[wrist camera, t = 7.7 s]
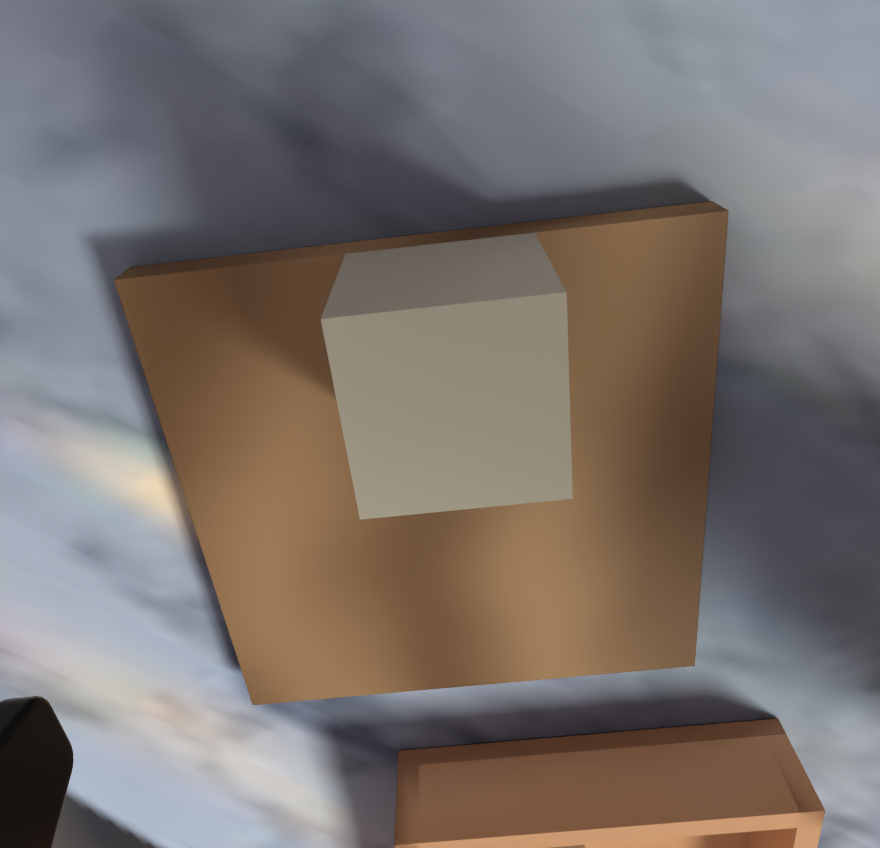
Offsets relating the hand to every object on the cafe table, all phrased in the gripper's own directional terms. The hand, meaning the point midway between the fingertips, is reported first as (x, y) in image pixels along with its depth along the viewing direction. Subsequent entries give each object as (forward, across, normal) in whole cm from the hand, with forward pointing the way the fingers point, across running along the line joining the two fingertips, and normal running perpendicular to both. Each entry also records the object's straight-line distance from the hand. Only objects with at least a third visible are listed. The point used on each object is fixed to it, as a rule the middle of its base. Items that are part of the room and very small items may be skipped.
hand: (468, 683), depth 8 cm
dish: (+11, -3, +19) cm, 22 cm away
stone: (+10, 0, 0) cm, 10 cm away
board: (+11, 0, +4) cm, 12 cm away
